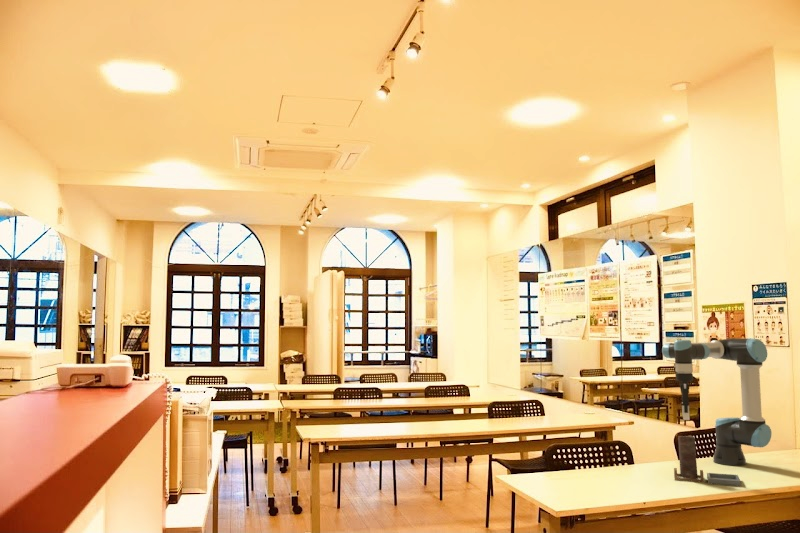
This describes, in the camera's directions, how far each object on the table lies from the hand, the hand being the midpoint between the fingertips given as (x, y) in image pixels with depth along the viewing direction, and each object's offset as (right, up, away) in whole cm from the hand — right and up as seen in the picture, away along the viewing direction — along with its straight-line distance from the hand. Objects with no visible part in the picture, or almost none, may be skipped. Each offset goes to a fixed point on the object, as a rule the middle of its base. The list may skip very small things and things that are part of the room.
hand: (685, 418), depth 303 cm
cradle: (0, -28, -2) cm, 28 cm away
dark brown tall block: (0, -28, -3) cm, 28 cm away
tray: (+13, -27, -9) cm, 32 cm away
